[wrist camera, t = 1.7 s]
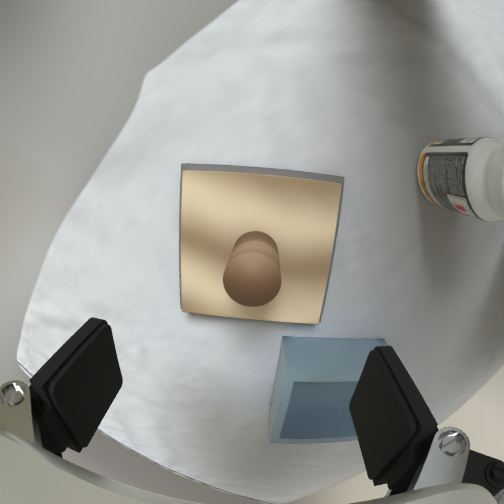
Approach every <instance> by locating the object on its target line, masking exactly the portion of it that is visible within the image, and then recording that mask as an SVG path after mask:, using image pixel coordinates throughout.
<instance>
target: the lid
mask: <svg viewBox="0 0 504 504" xmlns="http://www.w3.org/2000/svg"><path fill="white" fill-rule="evenodd" d="M340 193H341V184H339V183H334V182H326V181H319V180H311V179H302V178H293V177H283V176H273V175H262V174H249V173H234V172H217V171H192V170H186V171H183V177H182V203H181V291H182V311H183V312H191V313H198V314H207V315H215V316H224V317H233V318H243V319H254V320H266V321H279V322H293V323H310V324H318V322H319V318H320V313H321V309H322V304H323V299H324V294H325V289H326V283H327V278H328V273H329V267H330V261H331V256H332V249H333V243H334V237H335V230H336V223H337V216H338V209H339V201H340Z"/></svg>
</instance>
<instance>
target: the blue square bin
mask: <svg viewBox="0 0 504 504" xmlns="http://www.w3.org/2000/svg"><path fill="white" fill-rule="evenodd" d="M376 346H388V345H387V343H386V341H385V339H334V338H307V337H288V336H283V337H282V343H281V349H280V355H279V361H278V367H277V372H276V378H275V383H274V388H273V394H272V399H271V404H270V443H323V442H340V441H351V440H358V438H357V434H356V431H355V427H354V424H353V420H352V417H351V414H350V410H349V404H350V400H351V398H352V395H353V393H354V391H355V388H356V386H357V383H358V381H359V378H360V376H361V373H362V371H363V368H364V365H365V363H366V360H367V357H368V354H369V352H370V351H371V350H374V348H375V347H376Z"/></svg>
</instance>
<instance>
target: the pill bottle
mask: <svg viewBox="0 0 504 504" xmlns="http://www.w3.org/2000/svg"><path fill="white" fill-rule="evenodd" d="M417 177H418V182H419V185H420V188H421V190H422V192H423V194H424V195H425V197H426V198H427V199H428V200H429V201H430V202H432V203H433V204H435V205H437V206H440V207H443V208H446V209H450V210H453V211H456V212H460V213H463V214H466V215H469V216H472V217H475V218H478V219H481V220H483V221H486V222H498V221H501V220H504V145H503V144H502V143H501V142H499V141H498V140H495V139H492V138H489V137H484V138H462V139H447V140H438V141H434V142H431V143H430V144H428V145H427V146H426V147H425V148H424V149H423V150H422V152H421V154H420V157H419V160H418V165H417Z"/></svg>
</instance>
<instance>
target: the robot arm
mask: <svg viewBox="0 0 504 504" xmlns="http://www.w3.org/2000/svg"><path fill="white" fill-rule="evenodd" d="M122 382H123V379H122V375H121V371H120V367H119V363H118V358H117V354H116V349H115V345H114V340H113V335H112V330H111V327H110V325H108V323H107V322H106V321H105V320H102V319H98V318H90V319H89V320H88V321H87V322H86V323H85V324H84V325H83V326H82V327H81V328H80V329H79V330H78V331H77V332H76V333H75V334H74V335H73V336H71V337H70V338H69V339H68V340H67V341H66V342H65V343H64V344H63V346H62V347H61V348H60V349H59V350H58V351H57V352H56V353H55V354H54V355H53V356H52V357H51V358H50V359H49V360H48V361H47V362H46V363H45V364H44V365H43V366H42V367H41V368H40V369H39V370H38V372H37V373H36V374H35V375H34V376H33V377H32V378H31V379H30V383H31V386H30V387H28V386H27V385H26V384H25V383H24V382H22V381H17V380H16V381H15V380H13V381H9V382H6V383H4V384H3V385H2V386H1V387H0V504H203V503H197V502H192V501H186V500H181V499H177V498H172V497H168V496H164V495H160V494H156V493H152V492H148V491H144V490H141V489H138V488H135V487H131V486H128V485H125V484H122V483H119V482H117V481H114V480H111V479H108V478H106V477H103V476H101V475H98V474H96V473H93V472H91V471H89V470H86V469H84V468H82V467H80V466H78V465H75V464H73V463H71V462H69V461H67V457H66V454H65V450H66V448H67V447H68V448H70V449H72V450H74V451H76V452H81V450H82V448H83V447H84V448H85V447H87V446H88V444H89V442H90V440H91V439H92V437H93V435H94V433H95V431H96V430H97V428H98V426H99V424H100V423H101V421H102V419H103V417H104V416H105V414H106V412H107V410H108V409H109V407H110V405H111V404H112V402H113V400H114V398H115V397H116V395H117V393H118V392H119V390H120V388H121V386H122ZM349 410H350V414H351V417H352V420H353V424H354V427H355V431H356V434H357V438H358V441H359V445H360V448H361V452H362V456H363V459H364V463H365V467H366V471H367V475H368V477H369V479H370V480H372V479H373V483H374V486H377V485H382V484H386V483H387V484H388V488H389V490H388V492H387V493H386V495H385V497H384V498H379V499H374V500H369V501H363V502H357V503H351V504H504V462H502V461H501V460H498V459H495V458H492V457H489V456H486V455H484V454H481V453H478V452H475V451H473V450H470V442H469V438H468V437H467V436H466V434H465V433H464V432H463V431H462V430H460V429H458V428H455V427H444V428H442V429H440V430H438V428H437V425H438V424H437V422H436V420H435V419H434V417H433V415H432V413H431V411H430V410H429V408H428V406H427V404H426V402H425V401H424V399H423V397H422V395H421V394H420V392H419V390H418V389H417V387H416V385H415V384H414V382H413V380H412V379H411V377H410V375H409V374H408V372H407V370H406V369H405V367H404V365H403V364H402V362H401V361H400V359H399V357H398V356H397V354H396V353H395V351H394V349H393V348H392V347H391V346H376V347H375V348H374V350H371V351H370V352H369V354H368V357H367V360H366V363H365V365H364V368H363V371H362V373H361V376H360V378H359V381H358V383H357V386H356V388H355V391H354V393H353V395H352V398H351V400H350V404H349Z"/></svg>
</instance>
